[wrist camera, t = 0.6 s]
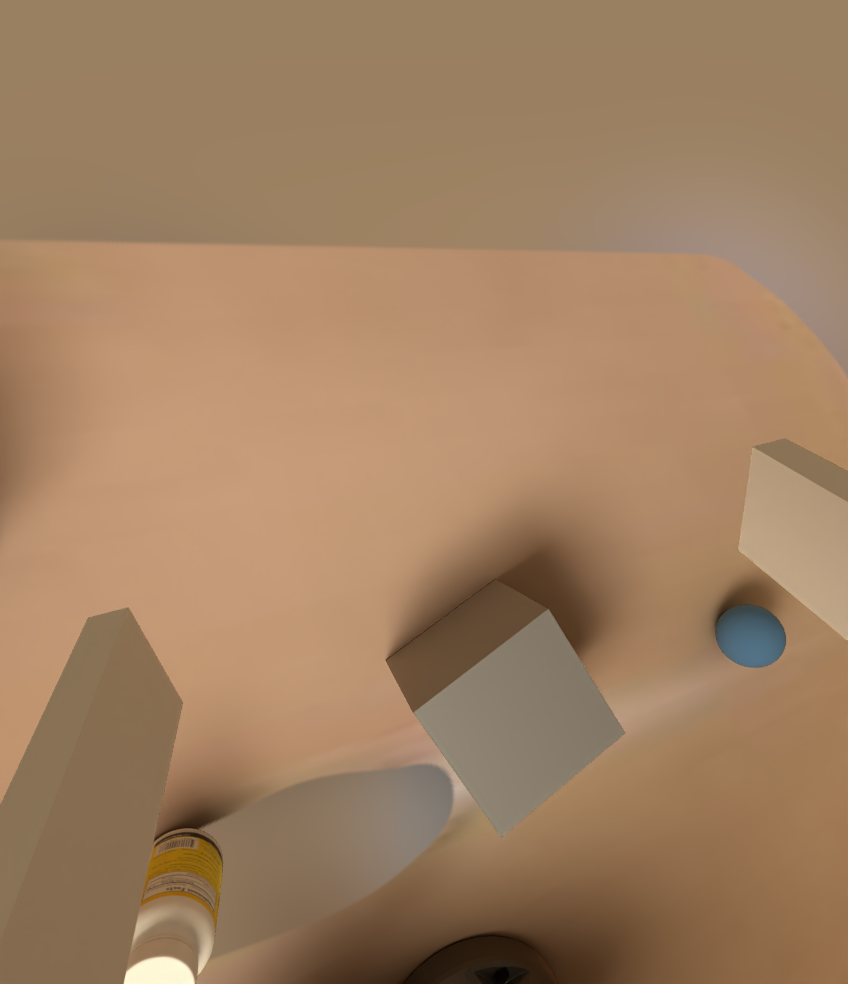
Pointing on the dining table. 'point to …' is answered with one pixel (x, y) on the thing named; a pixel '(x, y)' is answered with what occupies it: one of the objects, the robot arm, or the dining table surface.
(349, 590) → the dining table surface
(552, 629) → the matte grey cube
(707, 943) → the dining table surface
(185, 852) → the supplement bottle
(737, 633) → the ball
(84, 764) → the robot arm
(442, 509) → the dining table surface
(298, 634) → the dining table surface
